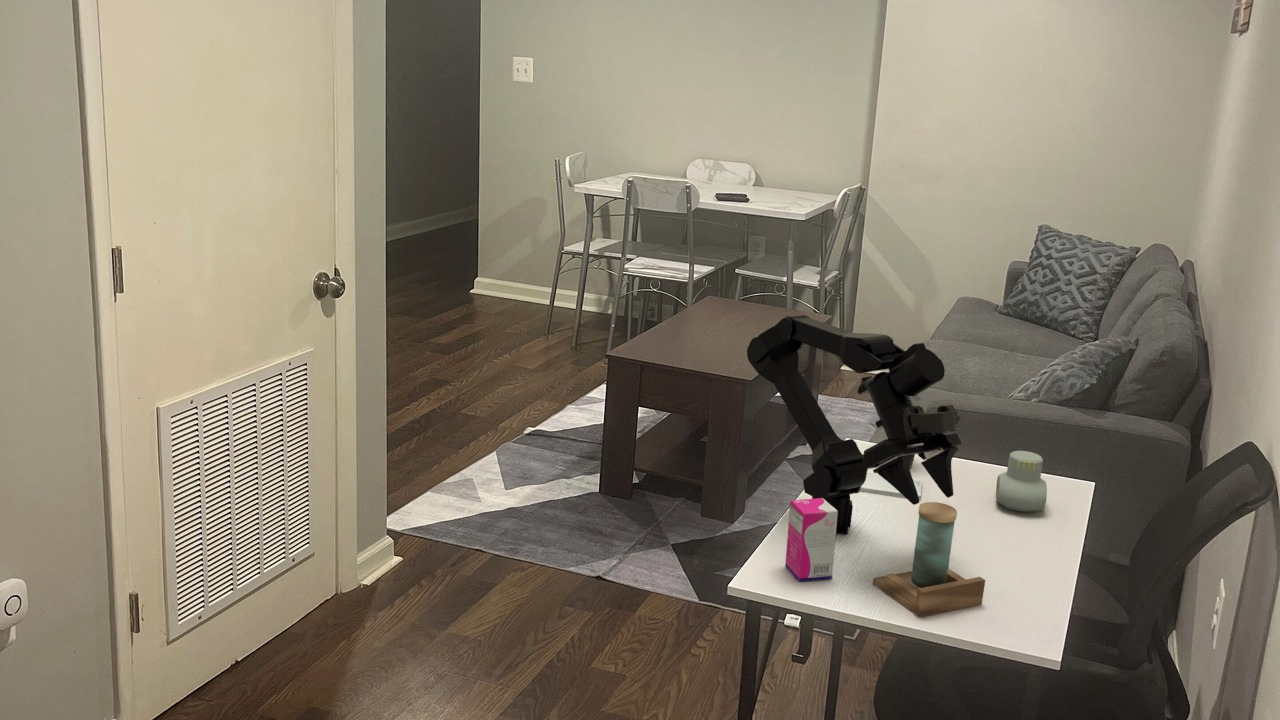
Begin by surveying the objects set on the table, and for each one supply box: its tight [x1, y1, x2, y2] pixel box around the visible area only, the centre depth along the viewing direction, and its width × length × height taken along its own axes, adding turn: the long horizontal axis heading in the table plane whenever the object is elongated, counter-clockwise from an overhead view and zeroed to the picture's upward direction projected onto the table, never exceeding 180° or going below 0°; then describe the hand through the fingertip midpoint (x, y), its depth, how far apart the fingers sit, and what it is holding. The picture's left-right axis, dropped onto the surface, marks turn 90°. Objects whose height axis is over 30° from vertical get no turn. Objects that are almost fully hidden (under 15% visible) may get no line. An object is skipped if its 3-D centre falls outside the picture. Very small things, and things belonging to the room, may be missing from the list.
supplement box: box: [785, 498, 838, 583], centre depth 173 cm, size 6×6×12 cm
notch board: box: [872, 567, 986, 618], centre depth 169 cm, size 11×12×4 cm
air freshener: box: [995, 450, 1048, 513], centre depth 205 cm, size 11×8×10 cm
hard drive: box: [859, 473, 923, 502], centre depth 211 cm, size 2×8×12 cm
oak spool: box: [909, 501, 958, 589], centre depth 167 cm, size 6×6×13 cm
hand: (933, 500), depth 171 cm, fingers open, 9 cm apart
